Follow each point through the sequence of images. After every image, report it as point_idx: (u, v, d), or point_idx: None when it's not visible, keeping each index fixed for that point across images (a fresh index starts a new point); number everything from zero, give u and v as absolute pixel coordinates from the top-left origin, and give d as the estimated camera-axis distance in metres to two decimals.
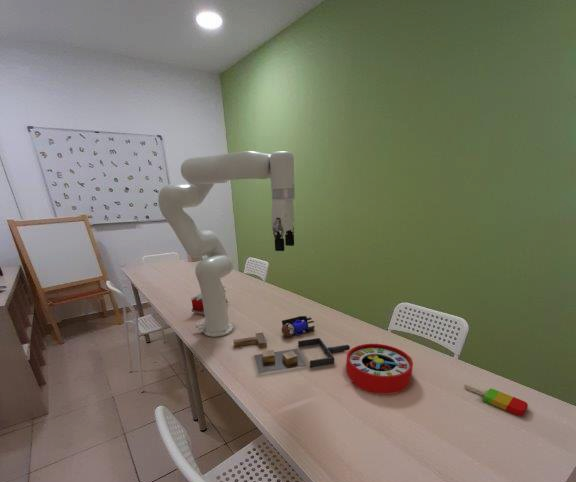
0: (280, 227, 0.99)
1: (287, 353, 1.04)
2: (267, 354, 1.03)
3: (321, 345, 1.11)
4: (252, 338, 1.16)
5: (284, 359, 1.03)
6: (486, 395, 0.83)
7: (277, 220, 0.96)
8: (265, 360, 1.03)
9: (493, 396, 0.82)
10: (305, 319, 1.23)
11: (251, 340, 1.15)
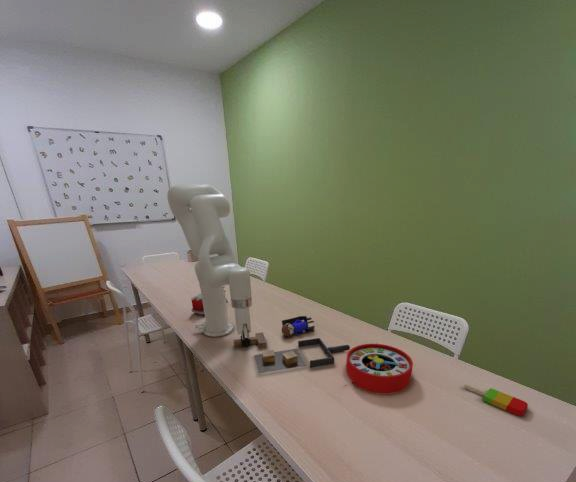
0: None
1: (287, 353, 1.04)
2: (267, 354, 1.03)
3: (321, 345, 1.11)
4: (252, 338, 1.16)
5: (284, 359, 1.03)
6: (486, 395, 0.83)
7: (245, 328, 1.08)
8: (265, 360, 1.03)
9: (493, 396, 0.82)
10: (305, 319, 1.23)
11: (251, 340, 1.15)
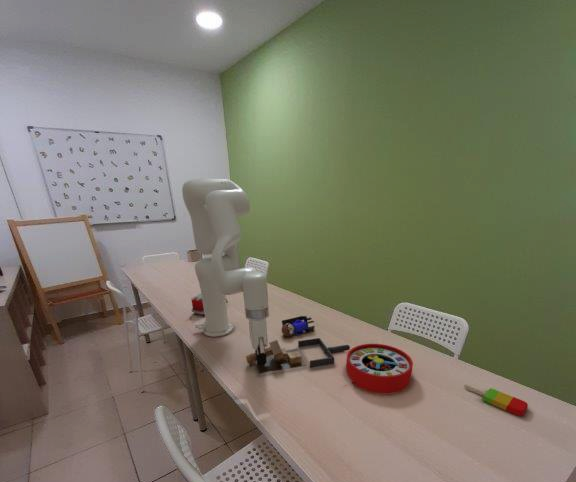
0: None
1: (292, 353, 1.04)
2: None
3: (321, 345, 1.11)
4: (266, 350, 1.01)
5: (288, 358, 1.03)
6: (486, 395, 0.83)
7: (261, 342, 0.94)
8: None
9: (493, 396, 0.82)
10: (305, 319, 1.23)
11: None
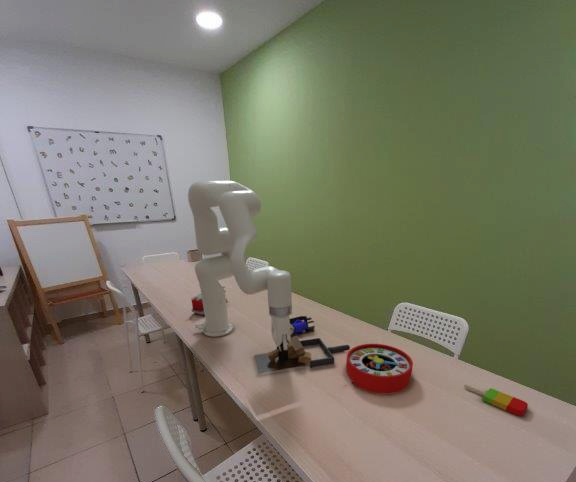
0: None
1: None
2: None
3: (321, 345, 1.11)
4: None
5: None
6: (486, 395, 0.83)
7: (284, 339, 0.96)
8: (288, 357, 1.05)
9: (493, 396, 0.82)
10: (305, 319, 1.23)
11: None
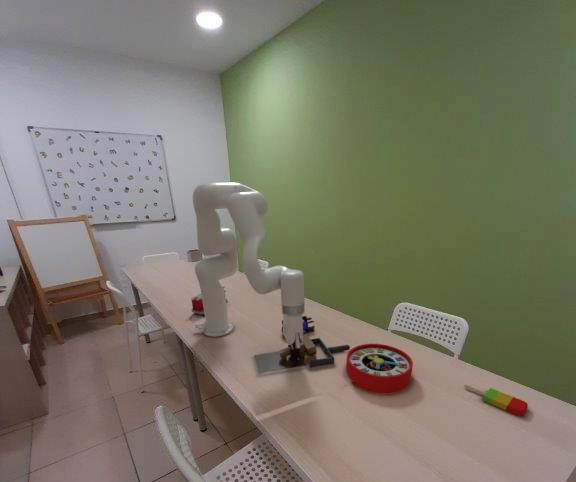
0: None
1: None
2: None
3: (321, 345, 1.11)
4: None
5: (304, 356, 1.04)
6: (486, 395, 0.83)
7: (297, 338, 0.97)
8: (300, 354, 1.06)
9: (493, 396, 0.82)
10: (305, 319, 1.23)
11: None
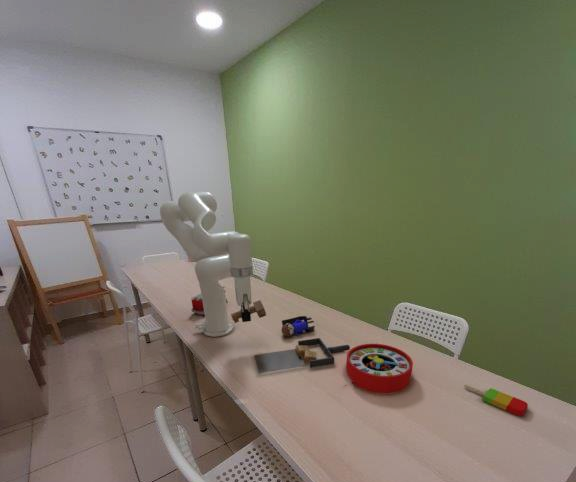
0: None
1: (309, 352, 1.04)
2: (302, 349, 1.06)
3: (321, 345, 1.11)
4: (250, 308, 1.09)
5: (304, 356, 1.04)
6: (486, 395, 0.83)
7: (245, 299, 1.03)
8: (300, 354, 1.06)
9: (493, 396, 0.82)
10: (305, 319, 1.23)
11: None
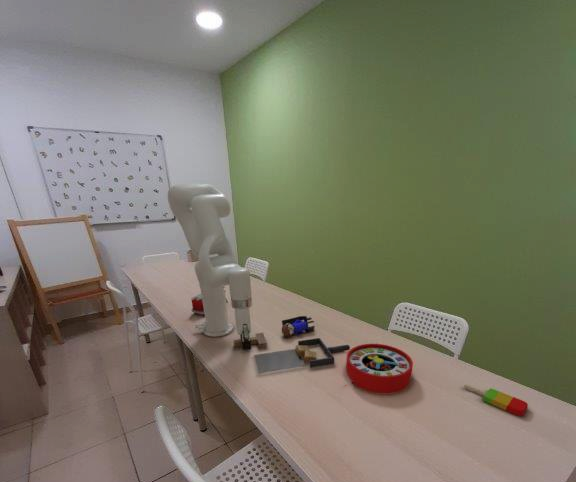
0: None
1: (309, 352, 1.04)
2: (302, 349, 1.06)
3: (321, 345, 1.11)
4: (252, 338, 1.15)
5: (304, 356, 1.04)
6: (486, 395, 0.83)
7: (245, 327, 1.07)
8: (300, 354, 1.06)
9: (493, 396, 0.82)
10: (305, 319, 1.23)
11: (251, 340, 1.15)
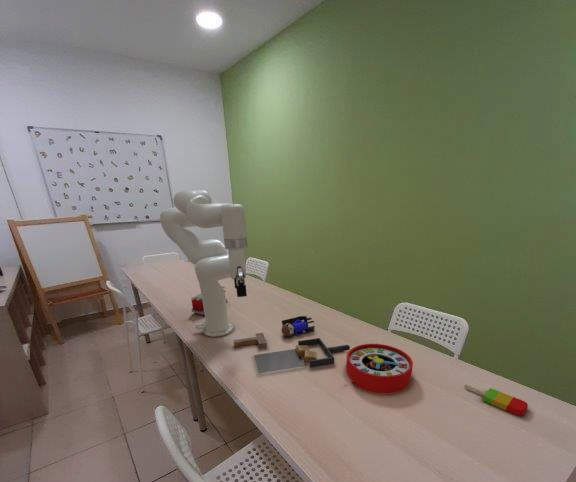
0: None
1: (309, 352, 1.04)
2: (302, 349, 1.06)
3: (321, 345, 1.11)
4: (252, 338, 1.15)
5: (304, 356, 1.04)
6: (486, 395, 0.83)
7: (239, 269, 0.98)
8: (300, 354, 1.06)
9: (493, 396, 0.82)
10: (305, 319, 1.23)
11: (251, 340, 1.15)
